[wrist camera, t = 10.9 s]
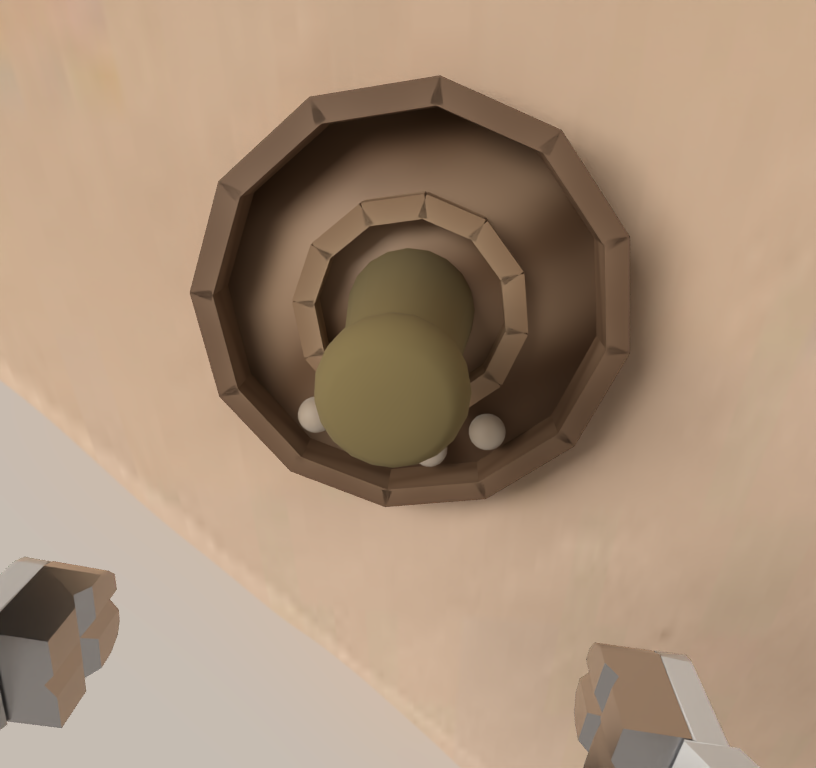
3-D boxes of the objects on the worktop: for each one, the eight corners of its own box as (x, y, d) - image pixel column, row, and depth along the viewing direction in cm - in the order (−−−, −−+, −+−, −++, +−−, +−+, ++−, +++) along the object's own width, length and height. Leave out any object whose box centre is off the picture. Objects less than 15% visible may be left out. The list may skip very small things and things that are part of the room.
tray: (687, 342, 29) (711, 364, 26) (383, 528, 35) (377, 563, 32) (454, -19, 24) (454, -38, 21) (142, 267, 30) (110, 281, 27)
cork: (452, 385, 30) (452, 517, 20) (334, 352, 30) (273, 468, 20) (492, 269, 27) (515, 352, 17) (364, 231, 27) (312, 293, 17)
